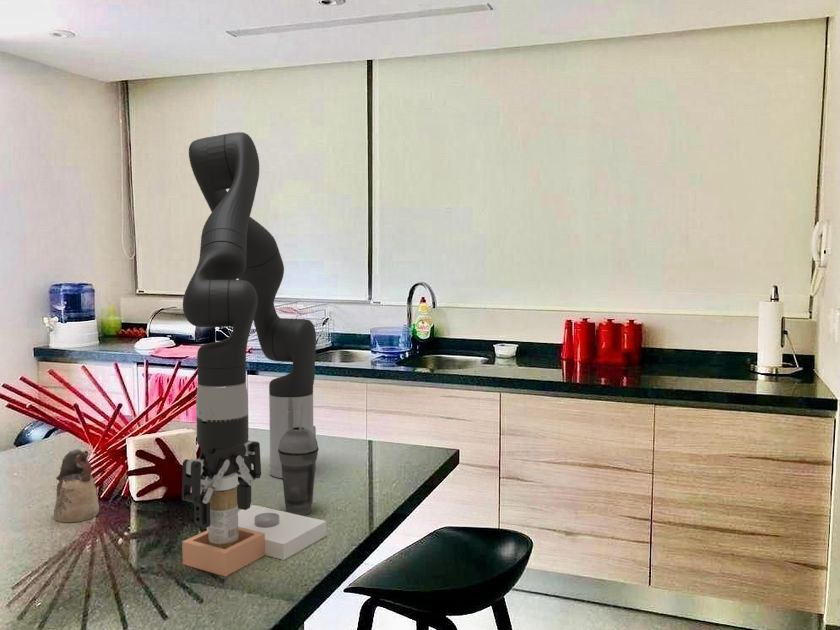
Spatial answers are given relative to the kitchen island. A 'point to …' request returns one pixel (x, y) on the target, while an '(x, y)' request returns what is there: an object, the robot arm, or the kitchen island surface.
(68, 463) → the figurine
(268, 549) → the white knobbed panel
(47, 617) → the kitchen island surface
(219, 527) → the sprinkles bottle
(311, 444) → the beverage cup
